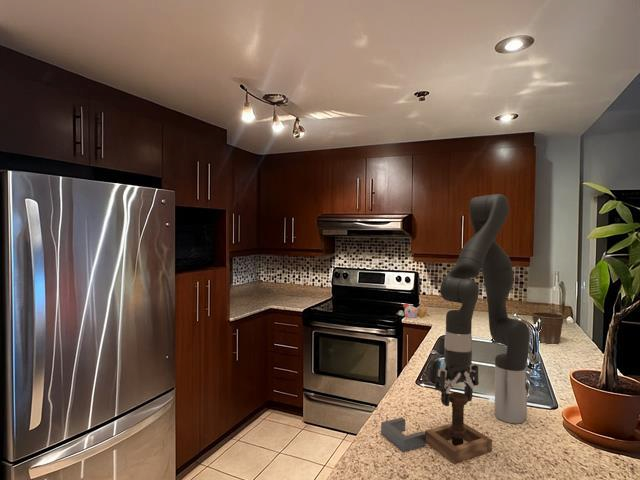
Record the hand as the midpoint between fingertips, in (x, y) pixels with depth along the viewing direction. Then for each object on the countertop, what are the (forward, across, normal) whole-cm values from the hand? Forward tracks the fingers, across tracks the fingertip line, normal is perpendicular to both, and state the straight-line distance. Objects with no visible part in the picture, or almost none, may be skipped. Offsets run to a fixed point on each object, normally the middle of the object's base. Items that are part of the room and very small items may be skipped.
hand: (456, 402), depth 113 cm
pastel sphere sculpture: (+12, -99, -146) cm, 177 cm away
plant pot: (+11, -125, -60) cm, 139 cm away
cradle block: (+13, +12, -10) cm, 20 cm away
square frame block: (+13, 0, 0) cm, 13 cm away
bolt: (+13, 0, 0) cm, 13 cm away
